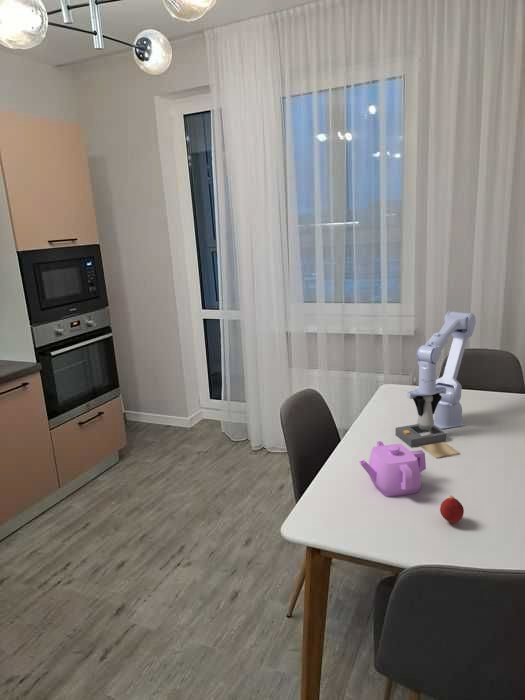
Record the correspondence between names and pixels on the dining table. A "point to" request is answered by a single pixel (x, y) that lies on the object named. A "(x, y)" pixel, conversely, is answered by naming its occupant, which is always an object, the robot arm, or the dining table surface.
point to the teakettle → (395, 469)
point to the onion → (451, 510)
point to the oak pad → (440, 450)
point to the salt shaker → (426, 414)
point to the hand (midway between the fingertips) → (426, 414)
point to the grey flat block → (414, 439)
